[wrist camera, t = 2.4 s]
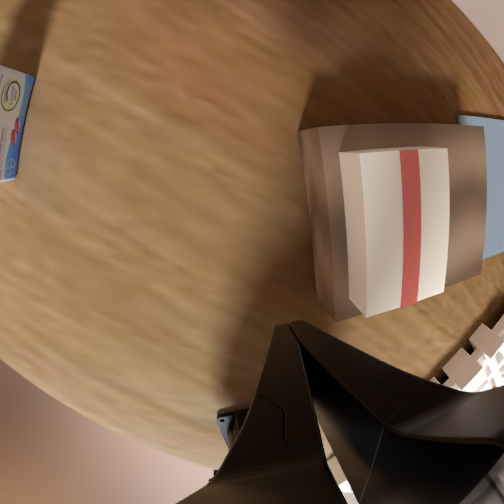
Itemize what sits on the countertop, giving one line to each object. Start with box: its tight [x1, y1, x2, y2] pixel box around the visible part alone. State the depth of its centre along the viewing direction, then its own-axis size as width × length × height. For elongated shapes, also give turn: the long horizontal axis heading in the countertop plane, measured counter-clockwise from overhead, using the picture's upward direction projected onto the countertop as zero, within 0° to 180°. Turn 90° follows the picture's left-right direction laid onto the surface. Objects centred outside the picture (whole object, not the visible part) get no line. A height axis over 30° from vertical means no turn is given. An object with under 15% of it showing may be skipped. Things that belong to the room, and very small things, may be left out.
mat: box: [457, 115, 504, 259], centre depth 22 cm, size 14×9×1 cm, turn 9°
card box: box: [339, 146, 450, 318], centre depth 16 cm, size 9×6×3 cm, turn 9°
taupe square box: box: [298, 123, 487, 322], centre depth 19 cm, size 12×14×4 cm
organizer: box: [327, 314, 504, 492], centre depth 29 cm, size 13×5×35 cm
